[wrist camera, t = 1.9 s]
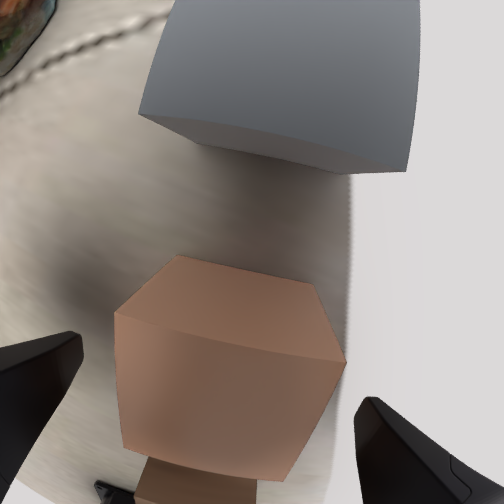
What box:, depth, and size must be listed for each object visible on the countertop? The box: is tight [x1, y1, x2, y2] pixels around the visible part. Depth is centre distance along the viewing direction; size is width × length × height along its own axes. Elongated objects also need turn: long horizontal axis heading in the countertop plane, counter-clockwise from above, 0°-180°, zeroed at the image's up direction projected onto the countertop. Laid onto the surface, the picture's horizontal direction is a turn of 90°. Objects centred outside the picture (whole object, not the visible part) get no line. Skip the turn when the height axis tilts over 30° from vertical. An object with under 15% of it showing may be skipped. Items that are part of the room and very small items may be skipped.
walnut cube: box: [134, 456, 257, 504], centre depth 11 cm, size 5×5×5 cm
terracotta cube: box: [114, 255, 347, 482], centre depth 9 cm, size 5×5×5 cm
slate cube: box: [138, 0, 420, 175], centre depth 6 cm, size 5×5×5 cm
